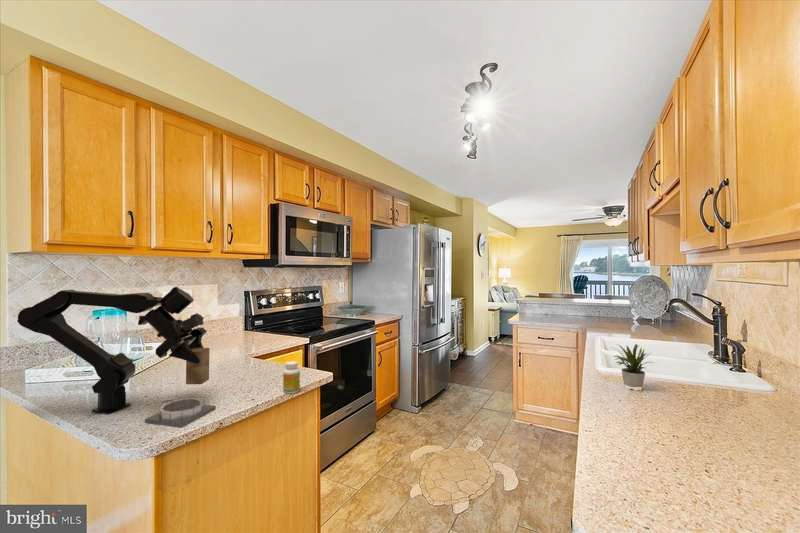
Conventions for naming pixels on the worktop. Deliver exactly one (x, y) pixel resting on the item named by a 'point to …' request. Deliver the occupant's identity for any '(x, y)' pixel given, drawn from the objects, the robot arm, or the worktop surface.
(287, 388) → the supplement bottle
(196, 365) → the upright wooden block
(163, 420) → the duct collar
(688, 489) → the worktop surface
